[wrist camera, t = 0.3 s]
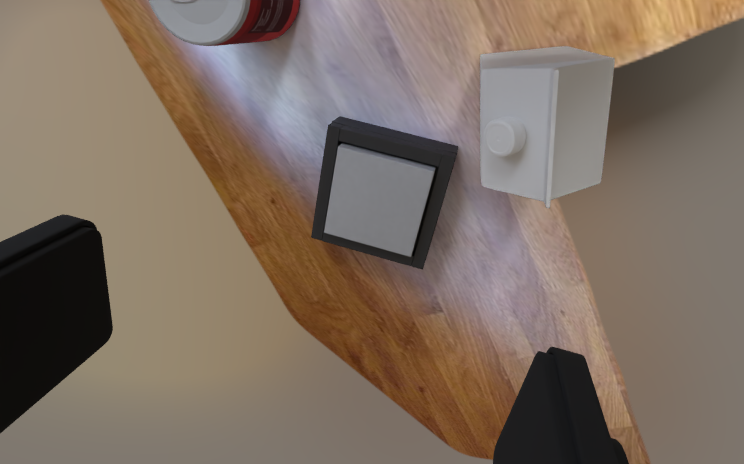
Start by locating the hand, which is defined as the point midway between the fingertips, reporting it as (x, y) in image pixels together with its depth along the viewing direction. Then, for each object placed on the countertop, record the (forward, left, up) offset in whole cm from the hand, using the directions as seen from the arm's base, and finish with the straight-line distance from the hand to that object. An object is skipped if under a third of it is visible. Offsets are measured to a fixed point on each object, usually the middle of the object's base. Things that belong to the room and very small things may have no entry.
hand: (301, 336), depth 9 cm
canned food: (-5, -18, -36) cm, 41 cm away
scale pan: (+10, -3, -33) cm, 34 cm away
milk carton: (-2, +7, -36) cm, 37 cm away
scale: (+10, -3, -36) cm, 37 cm away
